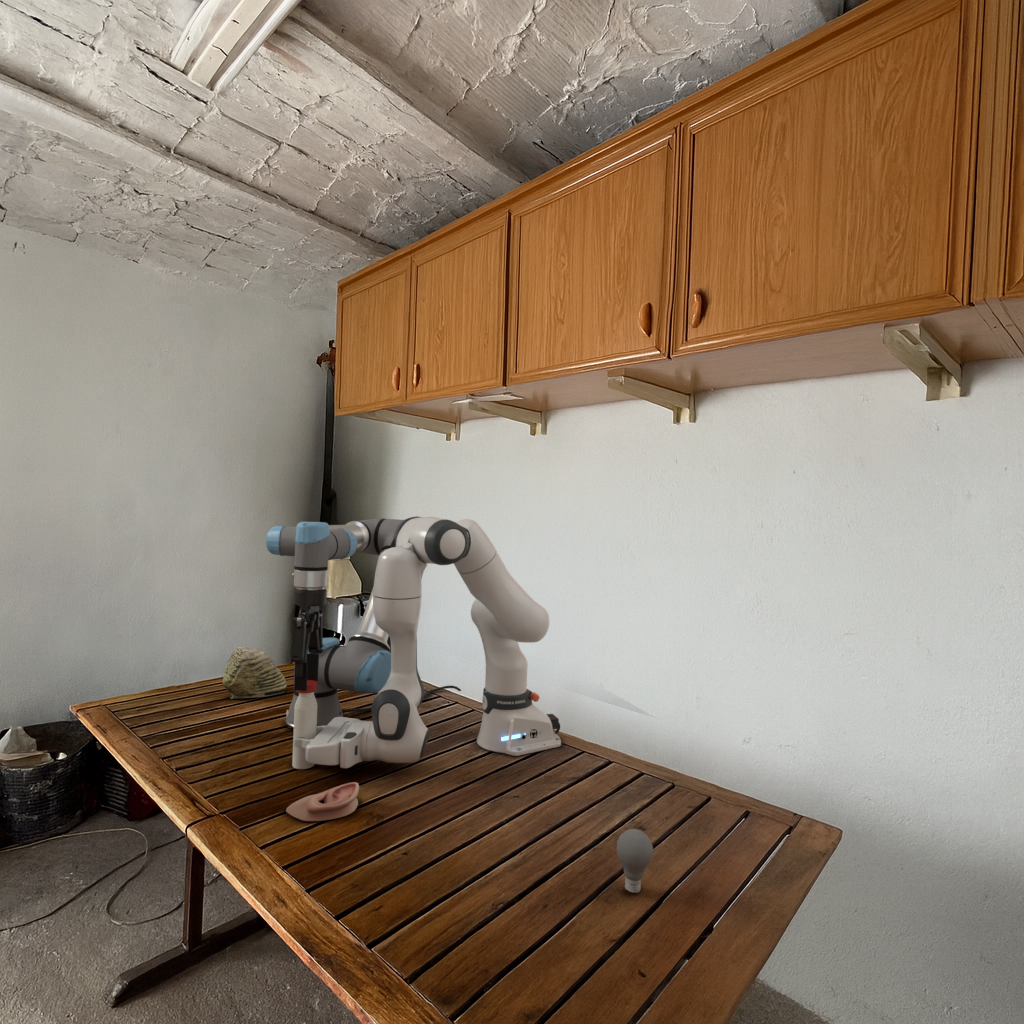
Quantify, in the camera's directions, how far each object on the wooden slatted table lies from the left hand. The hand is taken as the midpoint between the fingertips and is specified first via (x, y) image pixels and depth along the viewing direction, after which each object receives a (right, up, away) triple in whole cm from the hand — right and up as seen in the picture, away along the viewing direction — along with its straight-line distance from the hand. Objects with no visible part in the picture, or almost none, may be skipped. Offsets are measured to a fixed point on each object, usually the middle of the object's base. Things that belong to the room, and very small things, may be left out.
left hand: (306, 685), depth 149 cm
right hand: (-1, -12, 0) cm, 12 cm away
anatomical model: (+10, -20, -20) cm, 30 cm away
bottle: (-1, -19, +1) cm, 19 cm away
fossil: (-32, -17, +49) cm, 61 cm away
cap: (0, 0, 0) cm, 0 cm away
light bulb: (+68, -23, -43) cm, 84 cm away
